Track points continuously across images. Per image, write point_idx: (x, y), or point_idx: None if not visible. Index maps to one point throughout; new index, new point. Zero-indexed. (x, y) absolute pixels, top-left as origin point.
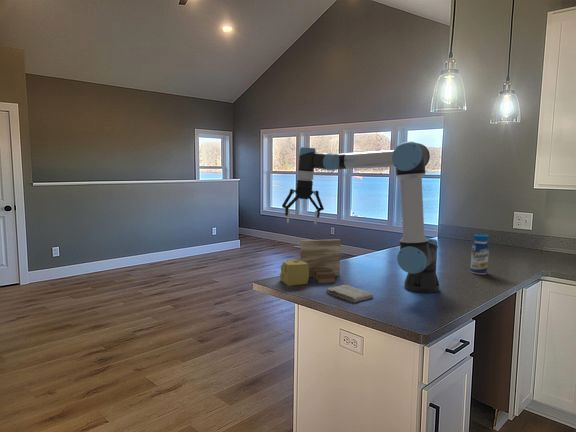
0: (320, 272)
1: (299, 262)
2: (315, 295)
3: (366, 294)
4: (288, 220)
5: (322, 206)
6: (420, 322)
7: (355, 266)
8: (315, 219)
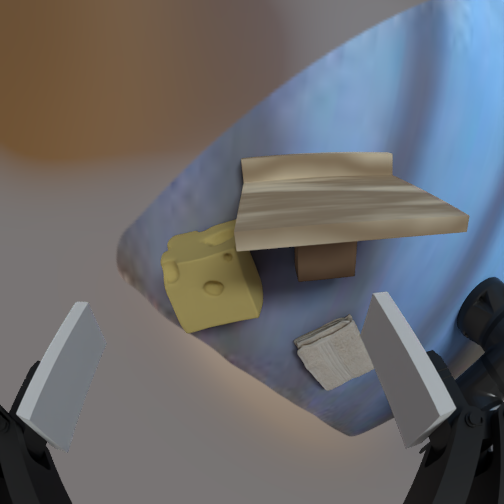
0: (311, 256)
1: (228, 299)
2: (263, 355)
3: (361, 373)
4: (95, 359)
5: (480, 467)
6: (372, 420)
7: (457, 81)
8: (377, 372)
